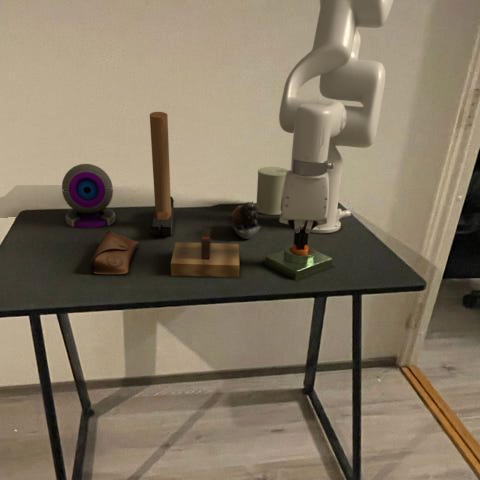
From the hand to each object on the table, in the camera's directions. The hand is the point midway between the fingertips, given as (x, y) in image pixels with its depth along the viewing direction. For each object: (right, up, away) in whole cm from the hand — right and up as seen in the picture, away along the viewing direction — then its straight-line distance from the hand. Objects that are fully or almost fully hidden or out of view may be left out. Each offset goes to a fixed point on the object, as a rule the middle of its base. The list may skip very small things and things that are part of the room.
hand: (300, 247), depth 123 cm
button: (0, -1, +1) cm, 2 cm away
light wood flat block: (-22, -4, +1) cm, 22 cm away
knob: (-21, -1, -1) cm, 22 cm away
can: (-5, +16, +36) cm, 40 cm away
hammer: (-34, +8, +21) cm, 41 cm away
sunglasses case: (-43, -2, +2) cm, 43 cm away
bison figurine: (-12, +6, +18) cm, 23 cm away
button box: (0, -4, +3) cm, 5 cm away
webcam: (-54, +10, +23) cm, 60 cm away
